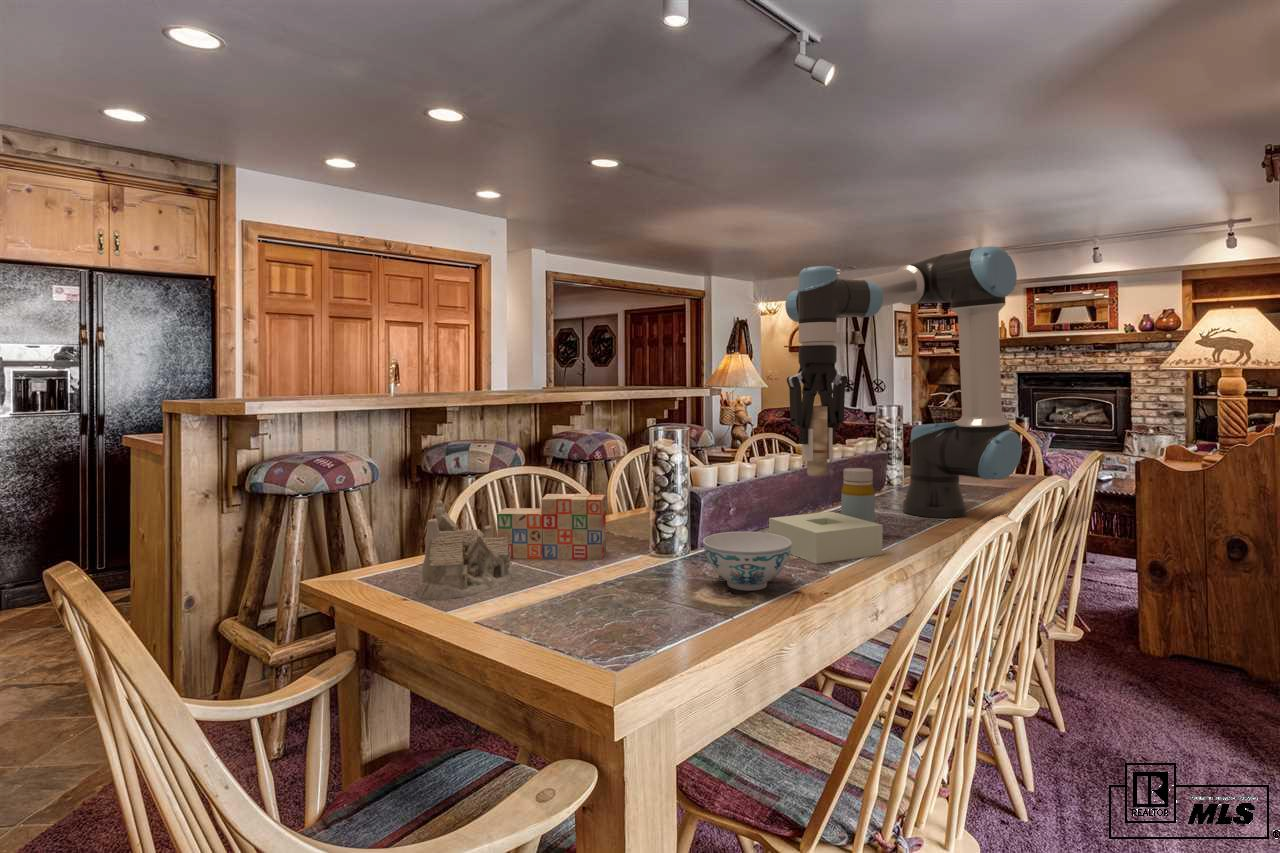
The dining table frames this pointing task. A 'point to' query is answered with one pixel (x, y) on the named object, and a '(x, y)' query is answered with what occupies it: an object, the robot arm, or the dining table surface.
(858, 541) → the sage socket block
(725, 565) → the chinaware
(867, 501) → the bottle
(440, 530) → the ceramic cottage
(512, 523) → the stack of blocks
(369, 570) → the dining table surface
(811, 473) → the ash dowel
